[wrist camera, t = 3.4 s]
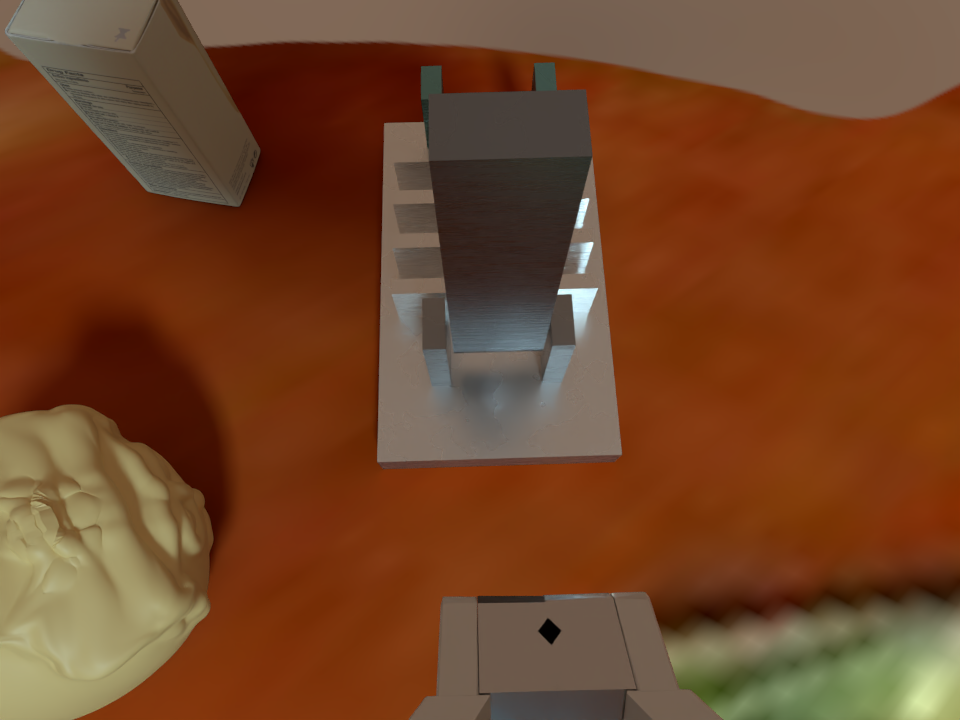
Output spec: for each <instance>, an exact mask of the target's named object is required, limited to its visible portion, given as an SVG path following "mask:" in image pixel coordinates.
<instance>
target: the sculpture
mask: <svg viewBox="0 0 960 720" xmlns="http://www.w3.org/2000/svg"><path fill="white" fill-rule="evenodd" d="M204 505H205V498H204V496H203V494H202V492H200V491H199V490H197V489H195V488H191V487H190V486H189V485H188V484H186V483H185V482H184V481H183V479H182V478H181V477H180V476H179V475H178V474H177V472H176V471H175V470H174V469H173V467H172V466H171V465H170V464H169V463H168V462H167V460H165V459H164V458H163V457H162V456H161V455H160V454H158V453H157V452H156V451H154V450H153V449H151V448H150V447H149V446H147V445H146V444H143V443H138V442H130V441H128V440H126V439H125V438H124V437H122V435H121V434H120V431H119V429H118V426H117V424H116V423H115V422H114V421H113V420H112V419H110V418H107V417H106V416H104V415H103V414H101V413H99V412H98V411H96V410H94V409H92V408H90V407H87V406H83V405H76V404H71V405H61V406H58V407H55V408H53V409H51V410H37V411H28V412H22V413H16V414H12V415H8V416H4V417H1V418H0V720H73V719H76V718H79V717H81V716H84V715H86V714H89V713H91V712H93V711H96V710H98V709H100V708H102V707H104V706H106V705H108V704H110V703H111V702H113V701H115V700H117V699H118V698H120V697H122V696H123V695H125V694H126V693H128V692H129V691H131V690H132V689H134V688H135V687H137V686H138V685H139V684H141V683H142V682H143V681H144V680H146V679H147V678H148V677H149V676H151V675H152V674H153V673H154V672H155V671H156V670H157V669H159V668H160V667H161V666H162V665H163V664H164V663H165V662H166V661H167V660H168V659H169V658H170V657H171V656H172V655H173V654H174V653H175V652H176V651H177V650H178V649H179V647H180V646H181V645H182V644H183V642H184V641H185V640H186V638H187V637H188V636H189V634H190V633H191V631H192V629H193V628H194V627H195V626H196V624H197V623H198V622H200V621H201V620H202V619H203V618H205V617H206V615H207V614H208V613H209V611H210V607H211V606H210V601H209V599H208V596H207V589H208V582H209V569H210V559H209V553H210V550H211V547H212V545H213V540H214V537H213V531H212V526H211V521H210V518H209V515H208V513H207V511H206V509H205V508H204Z"/></svg>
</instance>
